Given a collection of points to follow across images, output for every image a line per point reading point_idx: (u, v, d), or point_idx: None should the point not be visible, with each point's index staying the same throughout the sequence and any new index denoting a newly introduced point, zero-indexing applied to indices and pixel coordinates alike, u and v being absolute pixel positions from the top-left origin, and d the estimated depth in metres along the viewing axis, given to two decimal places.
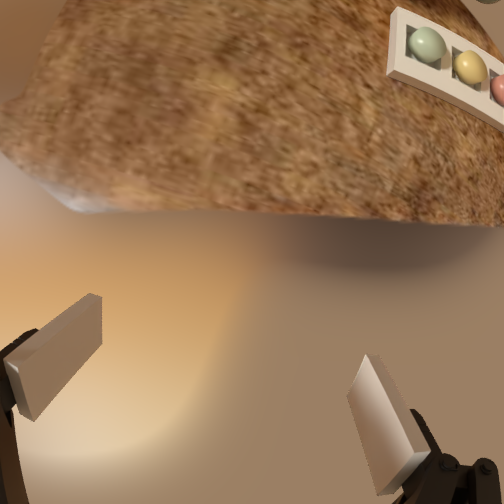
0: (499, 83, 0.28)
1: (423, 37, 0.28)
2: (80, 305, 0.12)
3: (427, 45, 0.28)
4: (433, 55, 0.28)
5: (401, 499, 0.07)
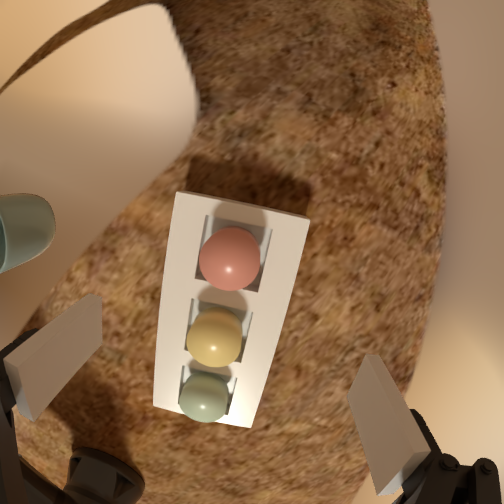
0: None
1: (200, 414, 0.29)
2: (80, 305, 0.12)
3: (211, 413, 0.29)
4: (224, 408, 0.28)
5: (401, 499, 0.07)
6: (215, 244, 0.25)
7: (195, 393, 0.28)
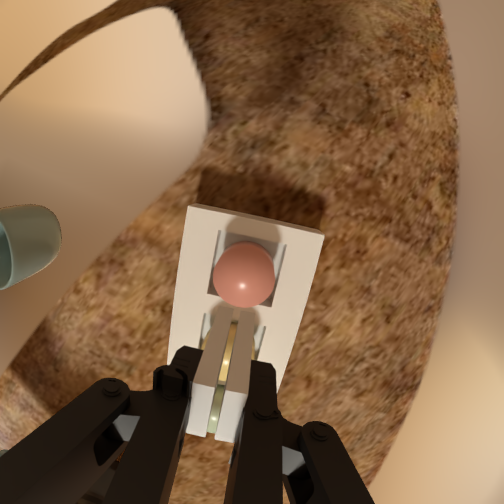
0: None
1: (212, 426, 0.29)
2: (222, 318, 0.14)
3: None
4: None
5: (233, 456, 0.09)
6: (229, 261, 0.24)
7: None
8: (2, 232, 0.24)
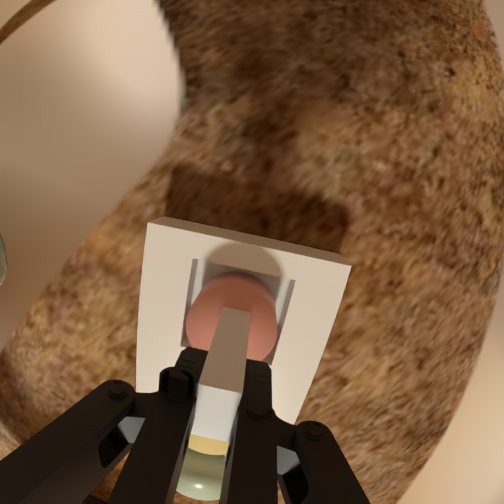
0: None
1: (196, 493, 0.20)
2: (226, 319, 0.14)
3: (210, 493, 0.19)
4: None
5: (228, 455, 0.09)
6: (209, 306, 0.16)
7: (189, 476, 0.19)
8: None
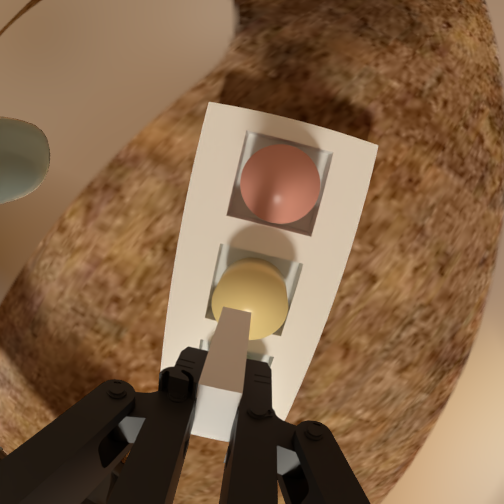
0: None
1: None
2: (226, 319, 0.14)
3: None
4: None
5: (228, 455, 0.09)
6: (263, 159, 0.18)
7: None
8: None
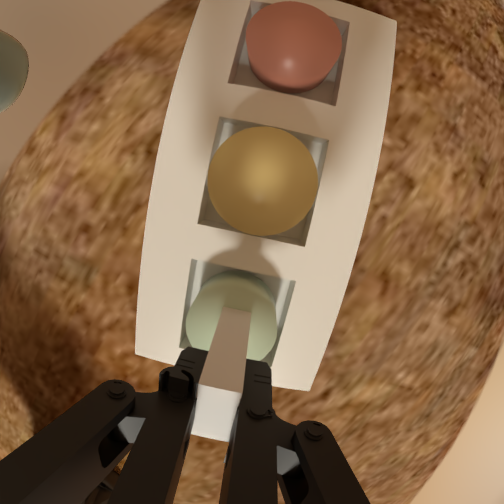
0: (289, 78, 0.14)
1: None
2: (226, 319, 0.14)
3: None
4: (273, 334, 0.16)
5: (228, 455, 0.09)
6: (272, 14, 0.12)
7: (219, 300, 0.16)
8: None
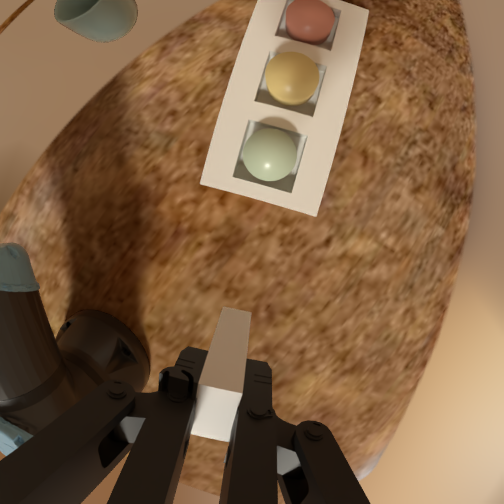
0: (307, 34, 0.24)
1: (265, 168, 0.28)
2: (226, 319, 0.14)
3: (279, 165, 0.27)
4: (294, 158, 0.27)
5: (228, 455, 0.09)
6: (299, 3, 0.23)
7: (265, 135, 0.27)
8: (87, 1, 0.22)
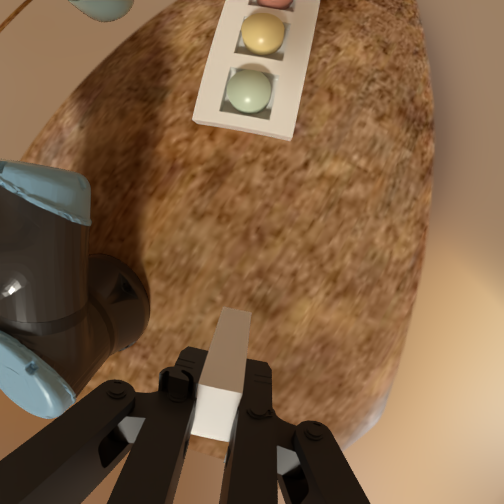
0: (273, 1, 0.28)
1: (245, 99, 0.31)
2: (226, 319, 0.14)
3: (256, 96, 0.31)
4: (269, 90, 0.31)
5: (228, 455, 0.09)
6: None
7: (244, 75, 0.30)
8: None
